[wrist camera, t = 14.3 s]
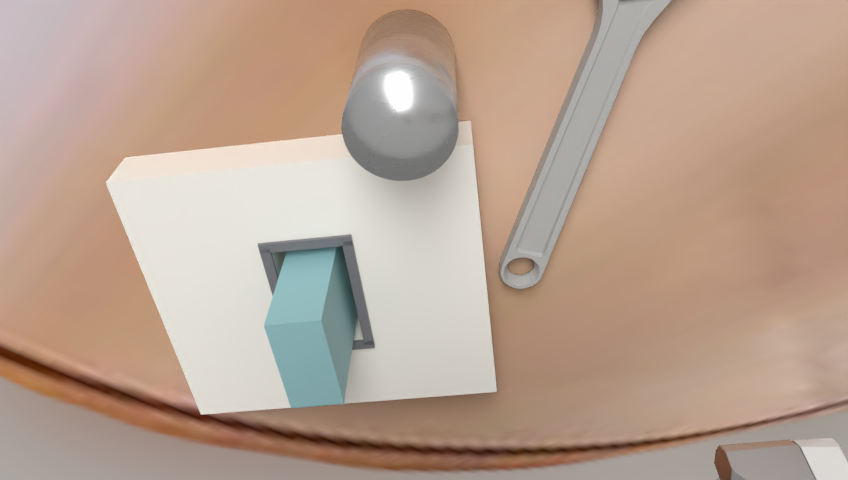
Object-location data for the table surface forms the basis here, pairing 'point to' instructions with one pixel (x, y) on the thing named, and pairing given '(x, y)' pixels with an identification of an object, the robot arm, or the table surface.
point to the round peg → (403, 98)
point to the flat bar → (313, 326)
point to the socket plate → (309, 229)
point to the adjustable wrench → (576, 134)
